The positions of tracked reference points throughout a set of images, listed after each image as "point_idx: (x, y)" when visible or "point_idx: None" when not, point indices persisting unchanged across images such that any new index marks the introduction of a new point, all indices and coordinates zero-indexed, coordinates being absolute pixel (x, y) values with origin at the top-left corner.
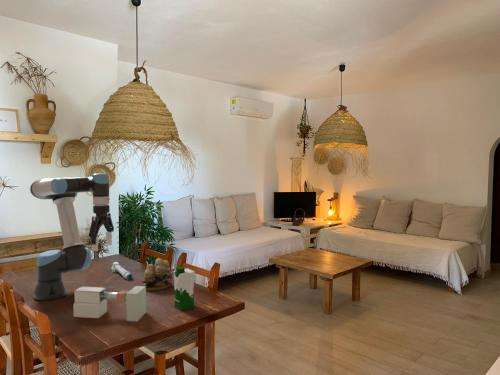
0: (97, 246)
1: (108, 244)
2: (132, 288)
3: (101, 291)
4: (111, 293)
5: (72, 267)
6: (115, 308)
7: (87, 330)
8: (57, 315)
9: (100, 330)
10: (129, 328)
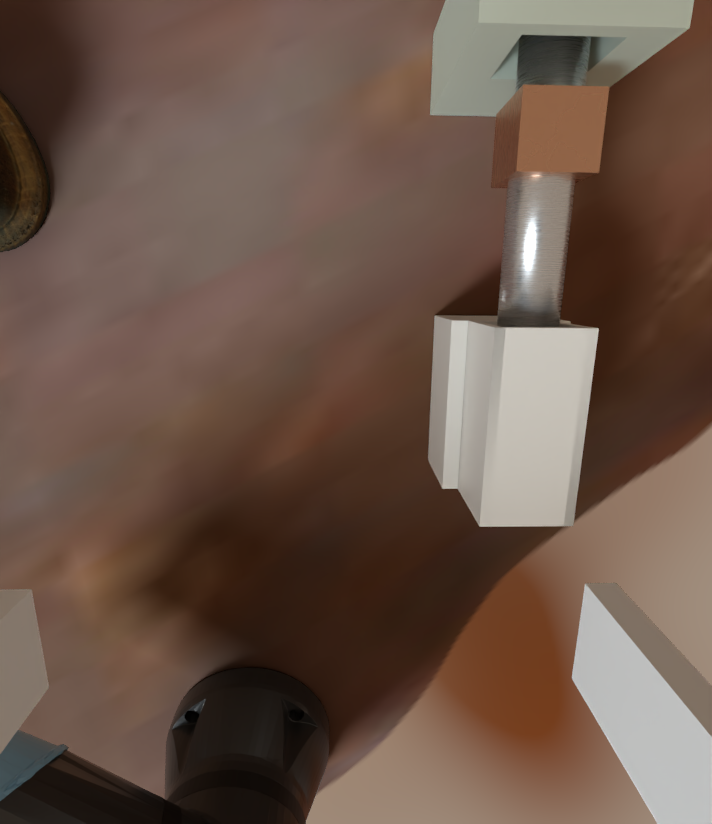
0: (666, 648)
1: (36, 646)
2: (552, 24)
3: (556, 327)
4: (561, 236)
5: (133, 802)
6: (385, 284)
7: (691, 293)
8: (507, 547)
9: (695, 220)
10: (676, 47)
